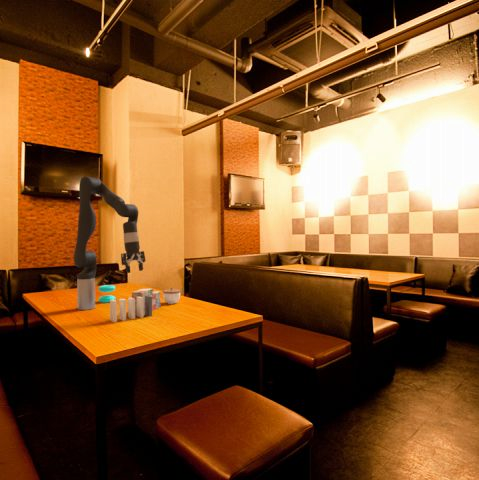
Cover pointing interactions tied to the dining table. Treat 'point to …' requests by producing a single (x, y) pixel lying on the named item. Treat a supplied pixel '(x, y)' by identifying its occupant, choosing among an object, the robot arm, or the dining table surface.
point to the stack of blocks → (144, 293)
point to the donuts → (108, 297)
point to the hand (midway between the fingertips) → (134, 271)
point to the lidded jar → (171, 295)
